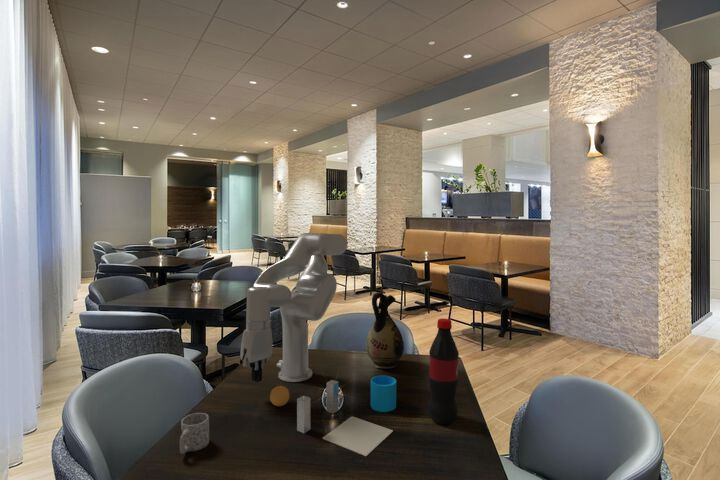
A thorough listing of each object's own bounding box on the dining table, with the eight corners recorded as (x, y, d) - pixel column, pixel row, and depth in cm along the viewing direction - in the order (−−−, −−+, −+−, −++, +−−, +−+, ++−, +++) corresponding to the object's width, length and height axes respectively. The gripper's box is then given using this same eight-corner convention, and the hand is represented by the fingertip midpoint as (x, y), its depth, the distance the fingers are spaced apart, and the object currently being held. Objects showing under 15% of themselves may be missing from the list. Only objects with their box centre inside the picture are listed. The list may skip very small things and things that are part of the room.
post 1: (297, 430, 107) (297, 398, 106) (303, 426, 109) (303, 395, 109) (304, 433, 105) (304, 401, 105) (310, 429, 108) (310, 397, 107)
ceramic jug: (383, 355, 167) (383, 287, 166) (411, 365, 156) (412, 292, 155) (355, 365, 156) (355, 292, 154) (383, 376, 145) (384, 298, 143)
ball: (265, 406, 121) (265, 387, 120) (279, 399, 126) (279, 381, 125) (279, 411, 117) (279, 392, 117) (293, 404, 122) (293, 385, 122)
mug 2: (398, 411, 118) (398, 385, 118) (371, 412, 118) (371, 386, 117) (392, 394, 130) (392, 370, 130) (368, 394, 130) (368, 371, 129)
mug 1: (190, 436, 104) (190, 412, 103) (213, 437, 103) (213, 413, 103) (168, 458, 94) (167, 432, 94) (194, 460, 93) (193, 434, 93)
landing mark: (322, 438, 103) (322, 437, 103) (351, 416, 115) (351, 416, 115) (366, 456, 95) (366, 455, 95) (393, 431, 107) (393, 430, 107)
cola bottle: (458, 415, 116) (460, 317, 115) (456, 429, 108) (458, 324, 107) (430, 410, 119) (432, 314, 118) (426, 423, 111) (427, 321, 110)
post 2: (326, 411, 118) (326, 382, 117) (331, 408, 120) (331, 379, 120) (333, 413, 116) (333, 384, 116) (338, 410, 119) (338, 381, 118)
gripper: (267, 319, 134) (266, 371, 134) (231, 327, 121) (230, 385, 121) (282, 322, 129) (281, 376, 130) (247, 330, 117) (246, 390, 117)
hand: (256, 380), depth 125 cm, fingers closed
